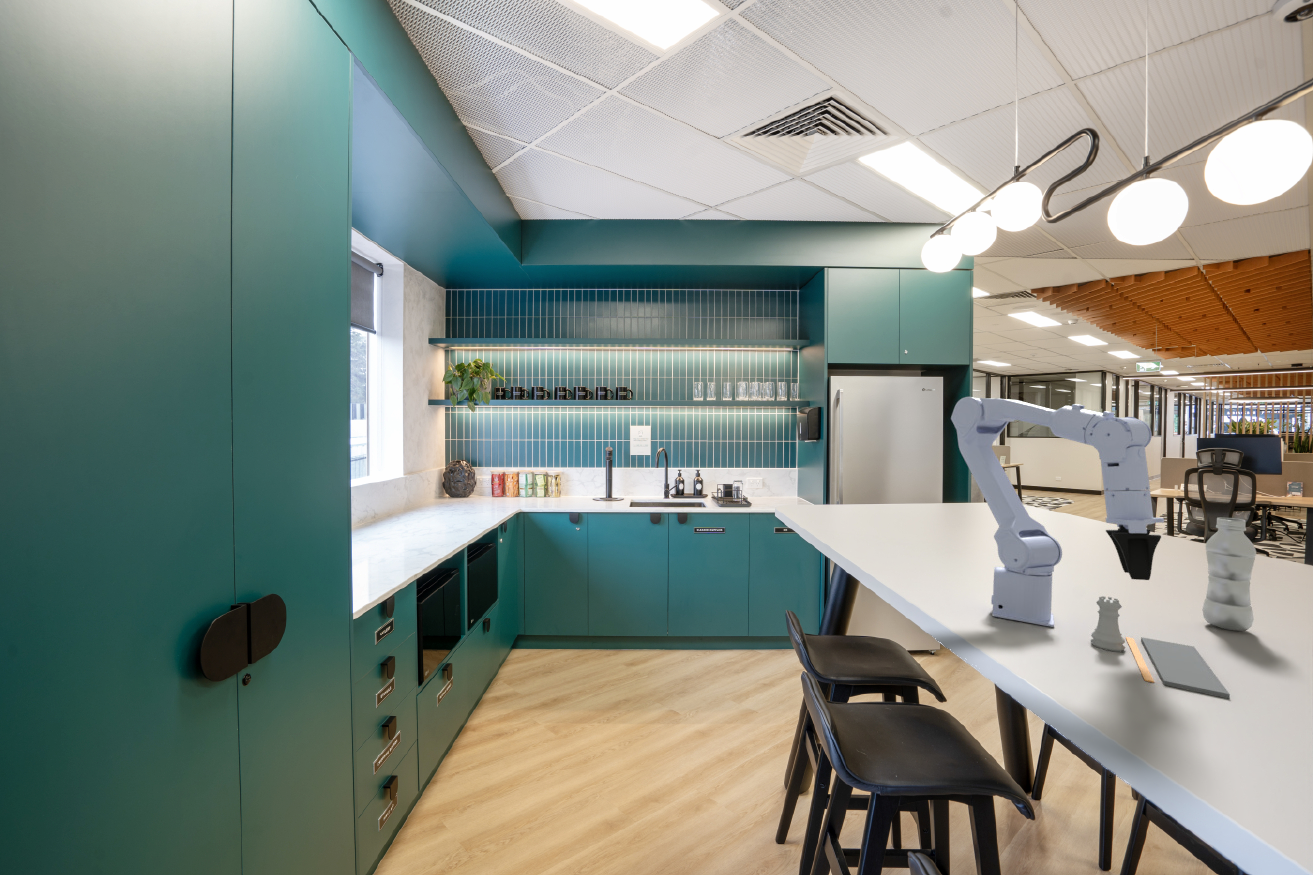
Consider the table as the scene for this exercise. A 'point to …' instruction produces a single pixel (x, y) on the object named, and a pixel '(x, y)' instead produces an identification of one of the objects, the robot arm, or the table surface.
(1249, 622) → the plastic bottle
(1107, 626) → the rook chess piece
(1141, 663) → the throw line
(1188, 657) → the mat
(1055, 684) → the table surface
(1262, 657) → the table surface
